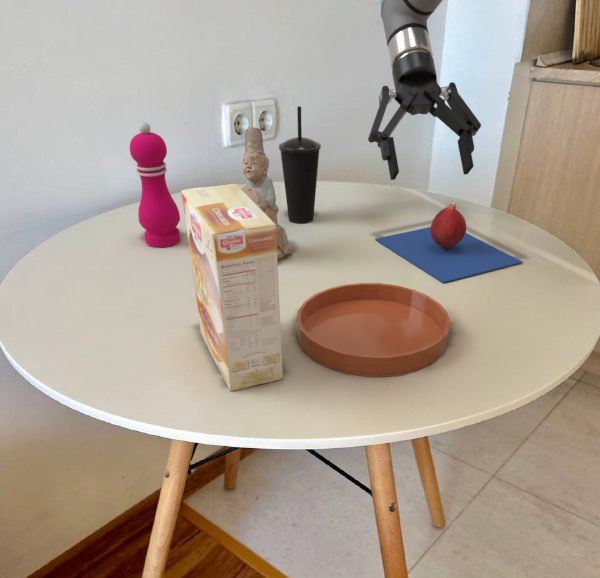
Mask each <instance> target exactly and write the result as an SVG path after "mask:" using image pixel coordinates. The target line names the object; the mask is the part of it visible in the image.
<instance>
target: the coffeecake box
mask: <svg viewBox="0 0 600 578" xmlns="http://www.w3.org/2000/svg"><path fill="white" fill-rule="evenodd" d="M180 193H181V199H182V206H183V213H184V219H185V228H186V233H187V240H188V241H187V242H188V249H189V255H190V262H191V269H192V270H191V271H192V277H193V283H194V284H193V285H194V292H195V299H196V305H197V313H198V319H199V329H200V335H201V337H202V339H203V341H204V343H205V345H206V347H207V349H208V351H209V353H210V354H211V357H212V359H213V360H214V363H215V365H216V366H217V369H218V370H219V372H220V374H221V376H222V378H223V380H224V382H225V384H226V386H227V388H228V389H229V391H230V392H233V391H239V390H242V389H247V388H251V387H254V386H258V385H262V384H268V383H273V382H277V381H281V380H283V379H284V373H283V371H284V370H283V353H282V352H283V351H282V333H281V331H282V330H281V329H282V328H281V310H280V309H281V307H280V289H279V288H280V287H279V285H280V284H279V268H278V266H279V265H278V263H279V262H278V259H277V242H276V224H275V223H274V222H273V221H272V220H271V219H270V218H269V217H268V216H267V215H266V214H265V213H264V212H263V211H262V210H261V209H260V208H259V207H258V206H257V205H256V204H255V203H254V202H253V201H252V200H251V199H250V198H249V197H248V196H247V195H246V194H245V193H244V192H243V191H242V190H241V187H240V186H239V185H238V184H237V183H228V184H222V185H221V184H220V185H215V186H214V185H211V186H203V187H202V186H199V187H193V188H186V189H182V190H180Z"/></svg>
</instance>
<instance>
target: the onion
mask: <svg viewBox="0 0 600 578" xmlns="http://www.w3.org/2000/svg"><path fill="white" fill-rule="evenodd" d="M456 206H457V205H456V203H455V202H451V203H450V204H449V205H447V206H446V207H445V208H443V209H441V210H440V211H439V212H438V213H437V214H436V215H435V216H434V218H433V219H432V222H431V224H430V226H429V227H430V233H431V236H432V238H433V240H434V241H435V242H436V243H437V244H438V245H439V246H440V247H442V248H443V249H444V250H448V249H450V248H451V247H453V246H454V245H456V244H458V243H459V242H460V241H461V240H462V239H463V237H464V235H465V232H466V233H467V222H466V219H465V217H464V215H463V214H462V213H461V212H460V211H459V210H458V209H457V208H456Z"/></svg>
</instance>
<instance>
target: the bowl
mask: <svg viewBox="0 0 600 578" xmlns="http://www.w3.org/2000/svg"><path fill="white" fill-rule="evenodd" d="M450 328H451V320H450V317H449V313H448V311H447V310H446V309H445V308H444V307H443V306H442V304H441V303H440V302H438V301H437V300H435V299H433V298H432V297H431V296H429V295H427V294H425V293H423V292H421V291H418V290H416V289H412V288H408V287H405V286H402V285H401V286H400V285H396V284H389V283H383V282H382V283H380V282H359V283H348V284H347V283H346V284H341V285H337V286H334V287H329V288H326V289H324V290H321V291H318V292H317V293H315V294H313V295H311V296H310V297H309V298H308V299H306V300H305V301H303V302H302V304H301V306H300V307H299V308H298V310H297V315H296V336H297V340H298V344H299V346H300V348H301V349H302V351H303V352H304V353H305V355H307V356H308V357H309V358H310V359H312V360H313V361H315V362H317V363H318V364H320V365H322V366H324V367H326V368H328V369H331V370H334V371H337V372H341V373H345V374H349V375H354V376H362V377H393V376H400V375H405V374H410V373H413V372H417V371H419V370H422V369H424V368H426V367H428V366H430V365H432V364H433V363H435V362H436V361H437V360H438V359H439V358H441V356H442V355H443V353H444V352H445V350H446V348H447V345H448V340H449V335H450Z"/></svg>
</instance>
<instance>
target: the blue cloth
mask: <svg viewBox="0 0 600 578" xmlns="http://www.w3.org/2000/svg"><path fill="white" fill-rule="evenodd" d="M430 227H431V226H428V227H424V228H418V229H414V230H410V231H406V232H405V231H404V232H399V233H395V234H390V235H386V236H382V237H376V238H375V239H374V241H375V242H377V243H379V244H380V245H381V246H384V247H385V248H387V249H388V250H390V251H391V252H392V253H394V254H396V255H398V256H399V257H400V258H403V259H404V260H406V261H407V262H409V263H410V264H412V265H413V266H415V267H417V268H418V269H420V270H421V271H423V272H424V273H426V274H428V275H429V276H431V277H432V278H434V279H436V280H437V281H439V282H440V283H442V284H447V283H451V282H455V281H459V280H463V279H466V278H470V277H475V276H478V275H482V274H487V273H490V272H494V271H498V270H502V269H506V268H510V267H513V266H517V265H521V264H523V263H524V262H523V261H522V260H520V259H518V258H516V257H514V256H513V255H510V254H508V253H507V252H504V251H503V250H501V249H498V248H497V247H494V245H491V244H489V243H487V242H485V241H483V240H481V239H479V238H477V237H475V236H473V235H471V234H470V233H467V231H466V232H465V235H464V237H463V239H462V240H461V241H460V242H459V243H458V244H456V245H454V246H453V247H451V248H450V249H448V250H444V249H443V248H442V247H440V246H439V245H438V244H437V243H436V242H435V241H434V240H433V238H432V236H431V233H430Z"/></svg>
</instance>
